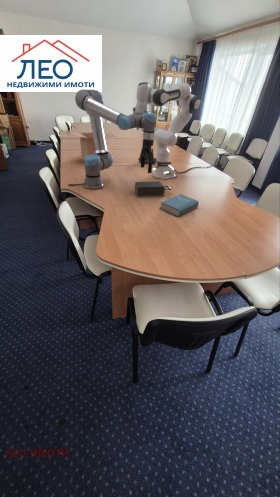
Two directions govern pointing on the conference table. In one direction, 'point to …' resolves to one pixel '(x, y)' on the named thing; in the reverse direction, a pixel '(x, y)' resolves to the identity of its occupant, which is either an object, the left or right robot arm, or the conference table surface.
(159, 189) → the dark boxy piece
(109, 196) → the conference table surface
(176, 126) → the right robot arm
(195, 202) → the book
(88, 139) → the box
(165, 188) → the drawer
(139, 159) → the laser sight
